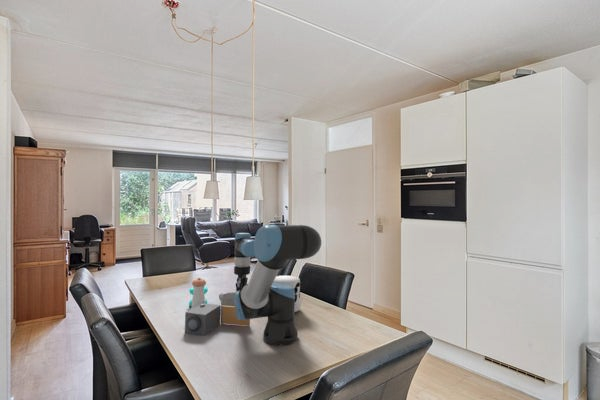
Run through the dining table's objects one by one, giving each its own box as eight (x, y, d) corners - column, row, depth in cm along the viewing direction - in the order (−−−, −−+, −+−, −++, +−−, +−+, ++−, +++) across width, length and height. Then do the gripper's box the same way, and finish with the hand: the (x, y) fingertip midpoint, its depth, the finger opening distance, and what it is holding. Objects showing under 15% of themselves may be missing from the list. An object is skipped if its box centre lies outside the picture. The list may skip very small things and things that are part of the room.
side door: (221, 322, 153) (221, 305, 153) (249, 325, 151) (250, 307, 151) (220, 323, 152) (220, 306, 152) (249, 326, 150) (249, 308, 150)
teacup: (244, 309, 174) (244, 295, 174) (227, 314, 166) (228, 299, 166) (229, 303, 183) (230, 290, 183) (213, 308, 175) (213, 293, 175)
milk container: (282, 304, 185) (283, 273, 185) (306, 310, 175) (307, 278, 175) (262, 312, 171) (263, 278, 171) (288, 319, 161) (288, 284, 161)
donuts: (201, 291, 173) (185, 289, 176) (200, 309, 173) (185, 307, 176) (211, 286, 183) (196, 284, 186) (210, 303, 182) (196, 301, 185)
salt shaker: (193, 311, 168) (194, 276, 169) (207, 312, 168) (208, 276, 168) (188, 316, 161) (189, 279, 161) (202, 317, 161) (203, 279, 161)
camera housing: (220, 323, 153) (220, 303, 153) (202, 337, 137) (202, 314, 137) (201, 321, 155) (202, 301, 155) (182, 334, 140) (182, 312, 140)
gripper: (238, 262, 156) (237, 310, 155) (230, 267, 143) (229, 320, 142) (253, 263, 155) (252, 311, 155) (246, 268, 142) (245, 320, 142)
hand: (241, 315), depth 149 cm, fingers closed
